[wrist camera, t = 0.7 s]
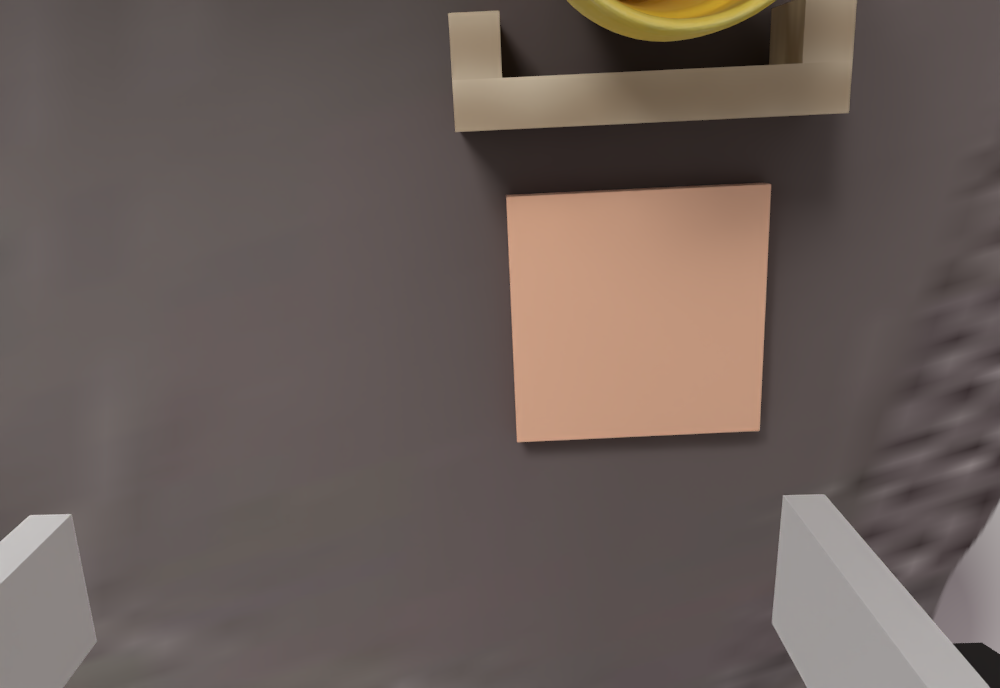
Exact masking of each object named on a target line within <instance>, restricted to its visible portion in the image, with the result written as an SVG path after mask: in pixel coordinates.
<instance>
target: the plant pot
mask: <svg viewBox="0 0 1000 688" xmlns="http://www.w3.org/2000/svg"><path fill="white" fill-rule="evenodd" d="M567 1H568V2H569V3H570V4H571V5H572V6H573V7H574V8H575V9H576V10H577V11H579V12H580V13H581V14H582V15H584V16H585V17H587V18H588V19H590V20H591V21H593V22H594V23H596V24H598V25H600V26H602V27H604V28H606V29H608V30H610V31H612V32H615V33H618V34H620V35H624V36H627V37H630V38H634V39H639V40H646V41H660V42H667V41H679V40H686V39H692V38H696V37H701V36H704V35H708V34H712V33H715V32H717V31H720V30H723V29H726V28H729V27H731V26H733V25H736V24H738V23H740V22H742V21H744V20H746V19H748V18H750V17H752V16H754V15H755V14H757V13H758V12H760V11H762V10H763V9H765V8H766V7H768V6H769V5H771V4H772V3H773V2H775V1H776V0H567Z"/></svg>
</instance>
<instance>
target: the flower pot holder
mask: <svg viewBox="0 0 1000 688" xmlns="http://www.w3.org/2000/svg"><path fill="white" fill-rule="evenodd" d="M856 6H857V0H793V1H791V2H788V3H785V4H783V5H780V6H778V7H775V8H772V11H771V34H770V56H769V65H757V66H736V67H716V68H695V69H675V70H654V71H633V72H613V73H592V74H572V75H551V76H530V77H510V78H502V62H501V39H500V16H499V11H480V12H460V13H448V19H449V35H450V52H451V69H452V85H453V102H454V119H455V132H466V131H487V130H507V129H528V128H549V127H569V126H590V125H611V124H631V123H652V122H673V121H693V120H714V119H735V118H756V117H776V116H797V115H818V114H838V113H849V104H850V90H851V76H852V62H853V48H854V34H855V20H856Z"/></svg>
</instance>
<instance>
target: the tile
mask: <svg viewBox="0 0 1000 688" xmlns="http://www.w3.org/2000/svg"><path fill="white" fill-rule="evenodd" d="M770 199H771V184H768V183H764V182H763V183H742V184H722V185H701V186H680V187H659V188H639V189H618V190H597V191H576V192H555V193H535V194H514V195H506V207H507V230H508V252H509V275H510V298H511V321H512V344H513V366H514V389H515V412H516V435H517V442H534V441H555V440H576V439H597V438H618V437H640V436H661V435H682V434H703V433H724V432H745V431H760V413H761V392H762V370H763V349H764V328H765V306H766V285H767V263H768V242H769V220H770Z"/></svg>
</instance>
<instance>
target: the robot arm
mask: <svg viewBox="0 0 1000 688" xmlns="http://www.w3.org/2000/svg"><path fill="white" fill-rule="evenodd" d="M772 624H773V626H774V628H775V630H776V632H777V633H778V635H779V637H780V639H781V641H782V643H783V644H784V646H785V648H786V650H787V652H788V654H789V655H790V657H791V659H792V661H793V663H794V665H795V666H796V668H797V670H798V672H799V674H800V676H801V678H802V679H803V681H804V683H805V685H806V687H807V688H1000V654H998V653H997V652H995V651H994V650H992V649H991V648H989V647H988V646H986V645H984V644H983V643H958V644H957V643H956V644H952V642H951V641H950V640H949V639H948V638H947V637H946V636H945V634H944V633H943V632H942V631H941V630H940V628H939V627H938V626H937V625H936V624H935V623H934V621H933V620H932V619H931V618H930V617H929V616H928V614H927V613H926V612H925V611H924V610H923V609H922V607H921V606H920V605H919V604H918V603H917V602H916V600H915V599H914V598H913V597H912V596H911V595H910V593H909V592H908V591H907V590H906V589H905V588H904V586H903V585H902V584H901V583H900V582H899V581H898V579H897V578H896V577H895V576H894V575H893V574H892V572H891V571H890V570H889V569H888V568H887V567H886V565H885V564H884V563H883V562H882V561H881V560H880V558H879V557H878V556H877V555H876V554H875V553H874V551H873V550H872V549H871V548H870V547H869V546H868V544H867V543H866V542H865V541H864V540H863V539H862V537H861V536H860V535H859V534H858V533H857V532H856V530H855V529H854V528H853V527H852V526H851V525H850V523H849V522H848V521H847V520H846V519H845V518H844V516H843V515H842V514H841V513H840V512H839V511H838V509H837V508H836V507H835V506H834V505H833V504H832V502H831V501H830V500H829V499H828V498H827V497H826V495H825V494H811V495H783V501H782V513H781V524H780V535H779V547H778V558H777V569H776V581H775V592H774V603H773V614H772ZM96 642H97V639H96V634H95V629H94V624H93V619H92V614H91V609H90V604H89V599H88V594H87V589H86V584H85V579H84V574H83V569H82V564H81V559H80V554H79V549H78V544H77V539H76V534H75V529H74V524H73V519H72V514H58V515H30V516H28V517H27V518H26V519H25V520H24V521H23V522H22V523H21V524H20V525H18V526H17V527H16V528H15V529H14V530H13V531H12V532H11V533H9V534H8V535H7V536H6V537H5V538H4V539H3V540H2V541H1V542H0V688H63V687H64V686H65V684H66V683H67V682H68V680H69V679H70V677H71V676H72V675H73V673H74V672H75V671H76V669H77V668H78V667H79V665H80V664H81V662H82V661H83V660H84V658H85V657H86V656H87V654H88V653H89V651H90V650H91V649H92V647H93V646H94V645H95V643H96Z"/></svg>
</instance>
